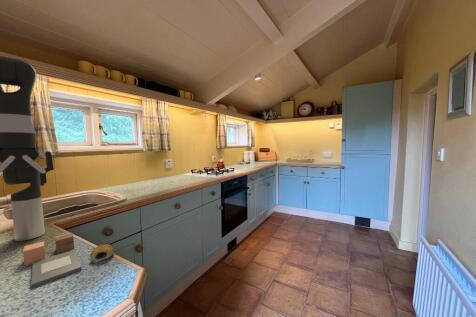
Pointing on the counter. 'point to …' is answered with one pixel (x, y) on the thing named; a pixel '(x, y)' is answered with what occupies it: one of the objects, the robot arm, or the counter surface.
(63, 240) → the walnut block
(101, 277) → the counter surface
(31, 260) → the terracotta block
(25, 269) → the counter surface
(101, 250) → the pastry
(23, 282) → the counter surface
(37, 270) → the plate
